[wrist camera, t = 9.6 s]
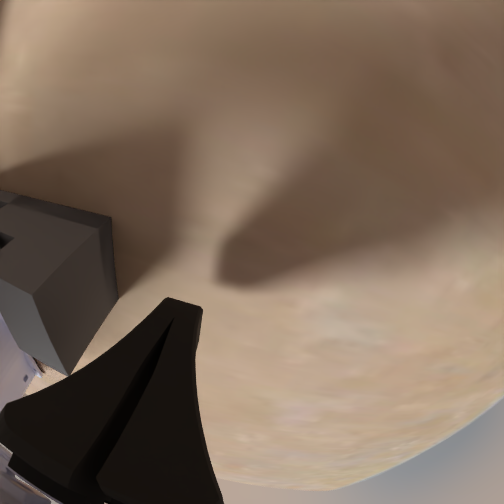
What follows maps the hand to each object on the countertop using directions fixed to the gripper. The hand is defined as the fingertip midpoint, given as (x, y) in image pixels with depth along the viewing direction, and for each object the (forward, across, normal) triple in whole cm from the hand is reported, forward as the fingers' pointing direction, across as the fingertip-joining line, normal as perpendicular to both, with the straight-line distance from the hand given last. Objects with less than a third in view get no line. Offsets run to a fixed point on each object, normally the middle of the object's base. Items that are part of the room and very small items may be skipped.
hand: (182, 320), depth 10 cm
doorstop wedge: (+2, +9, 0) cm, 9 cm away
